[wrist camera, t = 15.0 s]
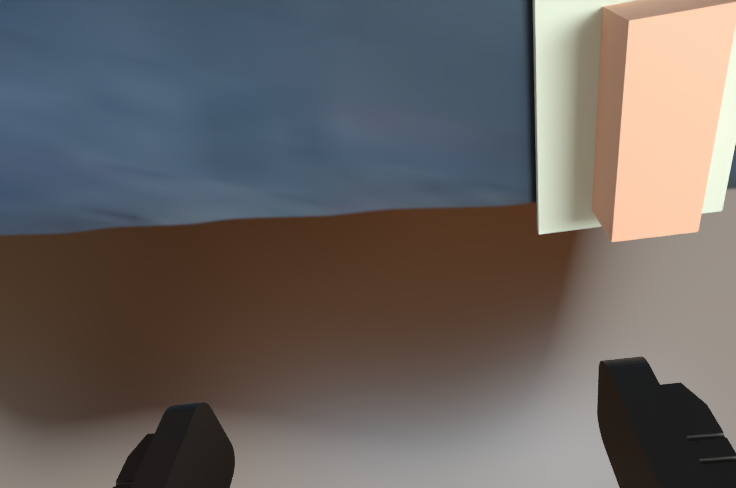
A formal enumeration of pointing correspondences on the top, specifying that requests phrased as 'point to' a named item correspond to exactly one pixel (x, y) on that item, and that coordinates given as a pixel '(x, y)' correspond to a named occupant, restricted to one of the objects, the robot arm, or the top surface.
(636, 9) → the peach rectangular slab
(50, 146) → the top surface
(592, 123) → the mat
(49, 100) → the top surface
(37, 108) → the top surface
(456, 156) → the top surface
